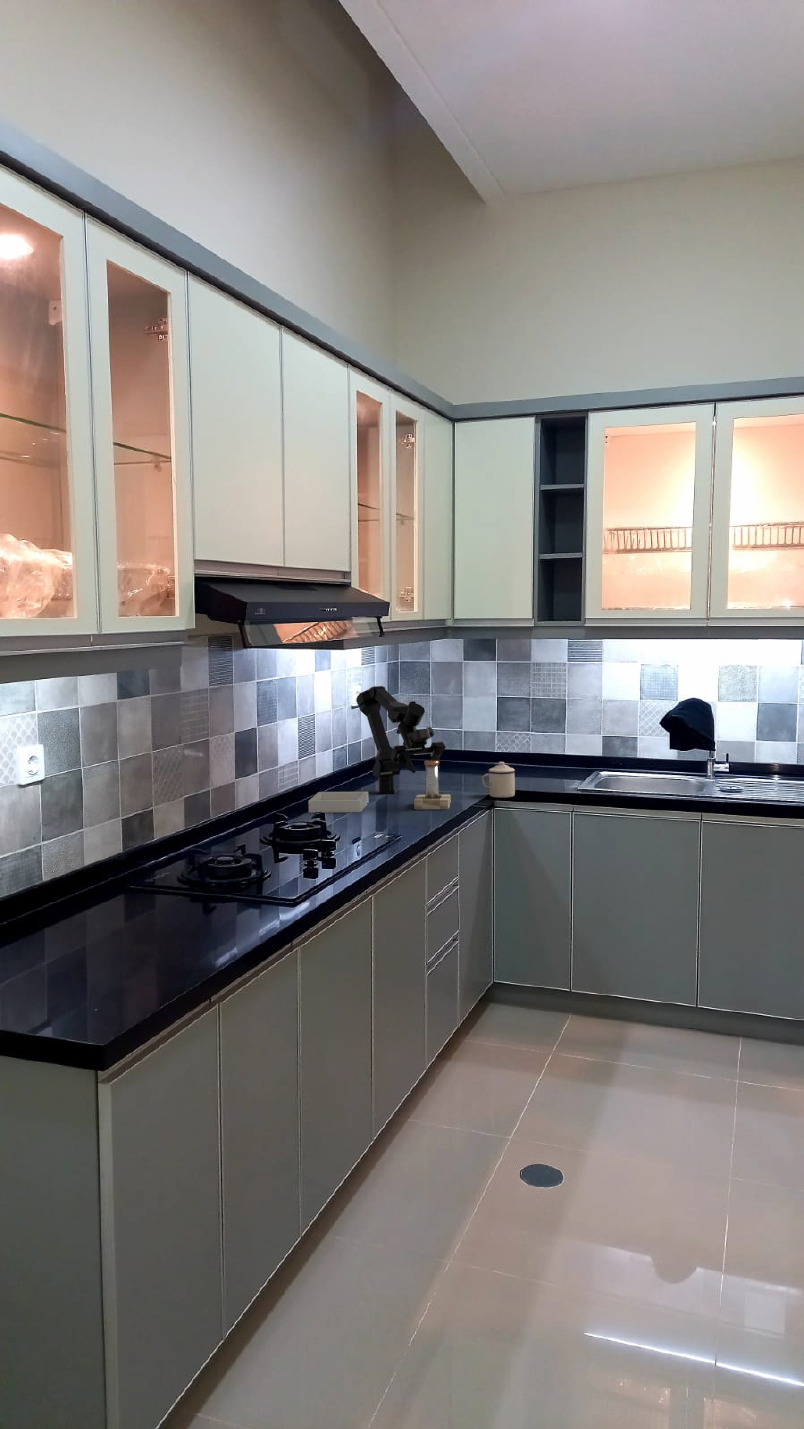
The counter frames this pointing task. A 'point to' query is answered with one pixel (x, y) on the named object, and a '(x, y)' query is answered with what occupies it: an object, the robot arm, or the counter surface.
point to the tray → (338, 802)
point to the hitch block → (432, 802)
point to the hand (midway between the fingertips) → (427, 771)
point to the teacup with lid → (500, 781)
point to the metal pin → (432, 779)
